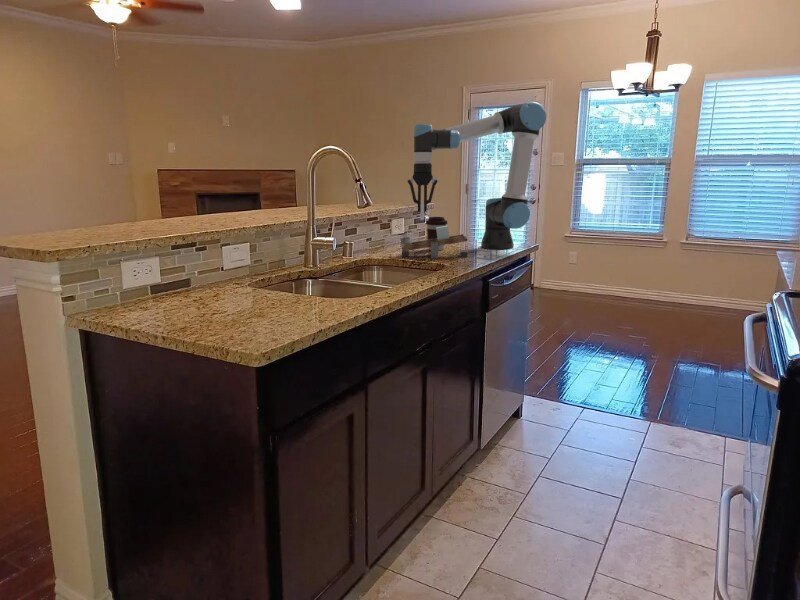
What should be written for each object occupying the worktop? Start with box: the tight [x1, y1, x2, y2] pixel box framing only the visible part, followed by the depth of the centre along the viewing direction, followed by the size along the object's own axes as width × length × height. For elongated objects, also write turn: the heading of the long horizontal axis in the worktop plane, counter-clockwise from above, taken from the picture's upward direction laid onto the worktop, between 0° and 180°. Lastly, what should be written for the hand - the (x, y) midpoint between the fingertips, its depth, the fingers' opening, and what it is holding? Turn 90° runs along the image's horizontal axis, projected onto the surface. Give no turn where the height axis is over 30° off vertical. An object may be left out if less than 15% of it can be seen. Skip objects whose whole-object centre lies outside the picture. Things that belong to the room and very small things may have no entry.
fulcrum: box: [401, 242, 468, 259], centre depth 242 cm, size 28×12×7 cm, turn 87°
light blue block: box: [436, 225, 450, 240], centre depth 241 cm, size 5×5×6 cm
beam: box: [400, 233, 468, 252], centre depth 241 cm, size 28×9×6 cm, turn 86°
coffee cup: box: [425, 216, 448, 251], centre depth 261 cm, size 10×10×15 cm
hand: (422, 219), depth 240 cm, fingers closed
